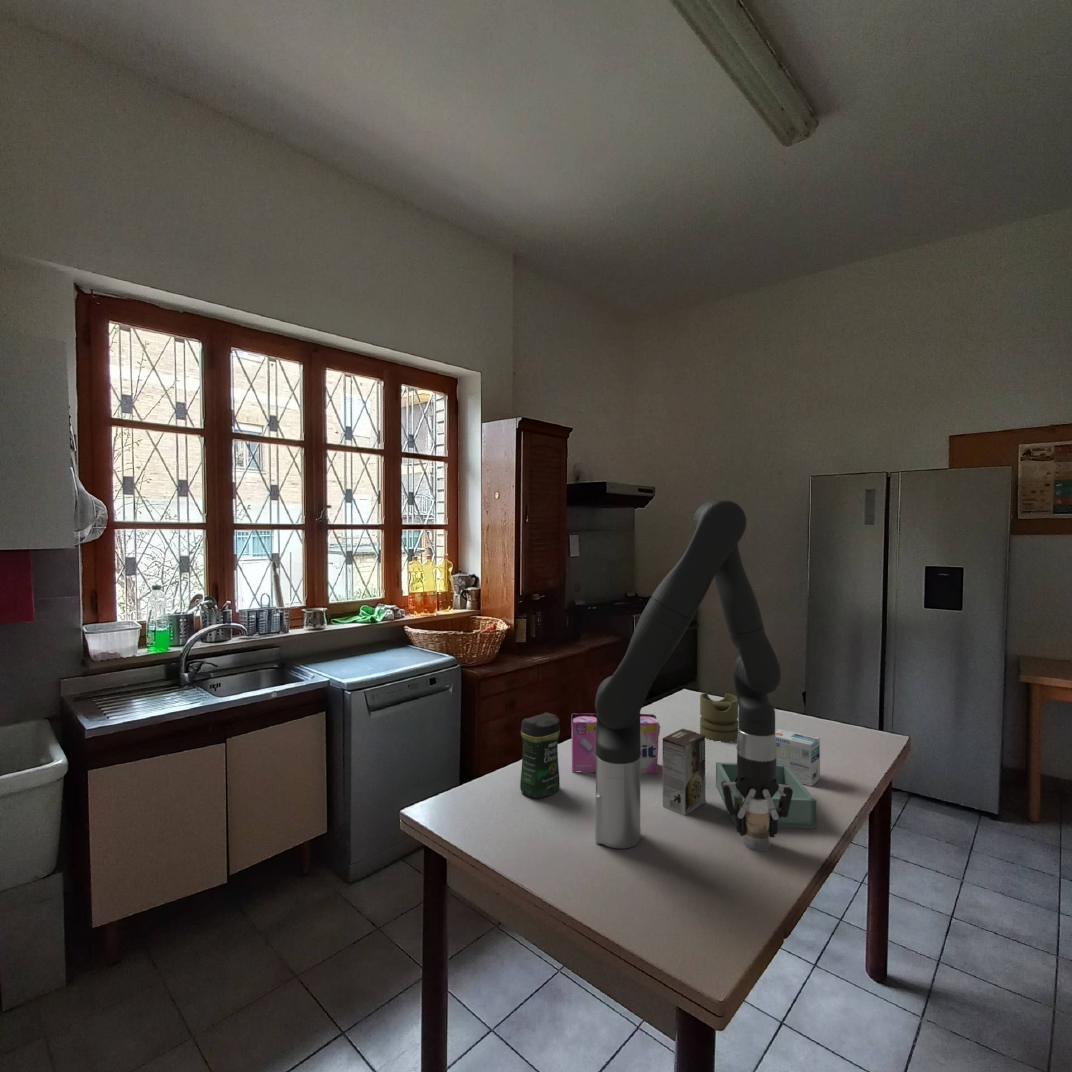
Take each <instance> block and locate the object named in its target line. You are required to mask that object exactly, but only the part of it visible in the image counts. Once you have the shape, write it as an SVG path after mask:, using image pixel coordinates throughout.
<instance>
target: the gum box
mask: <svg viewBox="0 0 1072 1072" xmlns="http://www.w3.org/2000/svg"><path fill="white" fill-rule="evenodd" d="M596 729H597V713H585V712H584V713H579V712H578V713H577V712H576V713H573V712H572V713H571V772H572V771H581V772H596ZM660 732H661V726H660V721H659V720H658V719H657V716H656V715H655V714H654V713H653V714H650V713H640V741H641V748H640V775H642V774H643V775H644V774H645V775H657V774H658V757H659V736H660Z"/></svg>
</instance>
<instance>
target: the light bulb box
mask: <svg viewBox="0 0 1072 1072" xmlns="http://www.w3.org/2000/svg"><path fill="white" fill-rule="evenodd" d="M775 737H776V765H787V766H788V767H789V768H790V770H791V771H792V772H793V773H794V775H795V776H796V777H797V778H798V779H799V781H800V782H801V783H802V784H803V785H805V784H806V785H805V786H809V787H812V786H814V784H816V783H817V782H818V781H819V780H820V779H821V743H820V741H821V738H820V737H816V736H811V735H807V734H803V733H799V732H794V731H789V730H784V729H782V728H779V729H777V730H775Z"/></svg>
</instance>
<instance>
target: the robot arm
mask: <svg viewBox="0 0 1072 1072" xmlns="http://www.w3.org/2000/svg"><path fill="white" fill-rule="evenodd" d="M694 513H695V514H694V516H693V528H694V533H693V534H692V537H691V539H690V542H689V543H688V546H687V548H686V549H685V552H684V553H683V555H682V557H681V558H680V559H679V561H677V563H676V565H674V566H673V568H672V569H671V570H670V571H668V573H667V575H666V576H665V577H664V578H663V580H662V581H660V583H659V584H658V586H656V589H655V590H654V591H653V592H652V595H651V597H650V598H649V600H648V602H647V604H646V606H645V608H644V609H643V611H642V612H641V614H640V617H639V619H638V621H637V623H636V626H635V628H634V631H633V633H632V636H631V639H630V640H629V641H630V642H629V644H628V647H627V650H626V652H625V653H624V654H625V655H624V657H622V659H621V661H620V663H619V665H618V667H617V668H616V670H615V671H614V672H613V674H612V675H611V676H608V677H606V678H605V679H604V680H602V682H601V683H600V684H599V686H598V687H597V691H596V694H595V701H594V707H595V711H596V713H595V714H597V729H596V773H595V843H596V844H602V845H603V846H606V847H608V848H612V849H613V848H614V849H629V848H632V847H635V846H636V845H638V844H640V840H641V830H642V829H641V828H642V827H641V774H640V748H641V741H640V714H641V710H642V708H643V706H644V704H645V700H646V699H647V696H648V694H649V692H650V689H651V687H652V685H653V683H654V681H655V679H656V678H657V676H658V674H659V673H660V672H661V669H662V668H663V666H664V665H665V663H666V662H667V661H668V660H669V658H670V656H671V655H672V653H673V652H674V650H675V649H676V647H677V645H678V644H679V643H680V641H681V640H682V638H683V637H684V635H685V632H686V631H687V630H688V627H689V625H690V624H691V622H692V621H693V619H694V617H695V615H696V613H697V611H698V609H699V607H700V605H701V604H702V602H703V600H704V598H705V596H706V594H707V592H708V590H709V588H710V586H711V584H712V582H713V581H715V585H716V589H717V593H718V596H719V601H720V605H721V610H722V613H723V618H724V622H725V625H726V630H727V632H728V636H729V638H730V639H729V640H730V641H731V643H732V644H733V645H734V646H735V648H736V649H737V650H738V652H739V656H738V657H737V658H736V660H735V662H734V665H733V672H732V674H733V684H734V689H735V690H734V691H735V696H736V697H737V700H738V737H737V740H736V763H737V777H736V779H735V782H730V783H727V782H726V781H722V782H721V786H722V790H723V795H724V800H725V804H724V805H726V806H725V808H726V810H727V812H728V814H729V816H730V815H735V825H734V827H735V829H736V832H737V833H738V834H739V836H740V837H743V836H744V834H745V819H744V815H745V812H746V809H748V808H749V800H748V799H753V798H765V800H769V810H770V838H775V835H776V836H777V835H778V832H779V831H778V829H779V828H778V818H780V817H787V816H788V812H789V807H790V803H791V798H792V794H793V790H792V789H791V787H790V786H789V785H788V784H783V785H782V784H778V783H777V780H776V737H775V731H776V711H775V708H774V705H773V704H772V702H771V701H770V699H769V695H768V694H771V693H774V691H776V690H777V689H778V687H779V685H780V684H781V679H782V671H781V666H780V663H779V661H778V657H777V656H776V653H775V651H774V648H773V646H772V644H771V643H770V640H769V639H768V636H767V634H766V631H765V626H764V621H763V616H762V614H761V609H760V606H759V603H758V600H757V596H756V595H755V592H754V590H753V587H752V585H751V583H750V581H749V579H748V576H747V573H746V571H745V568H744V565H743V562H742V558H741V554H740V549H739V544H738V543H739V542H740V541H741V539H742V538H743V536H744V535H745V532H746V528H747V516H746V513H745V511H744V509H743V508H742V506H740V505H739V504H738V503H737V502H735V501H732V500H728V499H727V500H726V499H713V500H708V501H706V502H704V503H703V504H701V505H700V506H699V507H698V508H697V510H696V512H694ZM735 788H737V789H738V791H739V792H740V796H739V798H738V803H737V805H736V807H735V806H733V801H732V797H731V794H733V793H734V789H735ZM778 790H779V793H780V795H781V796H780V801H779V805H778V808H776V809H775V806H774V803H773V801H772V799H771V798H772V797H773V796H774V794H775V793H776V792H777V791H778ZM743 797H744V801H743Z"/></svg>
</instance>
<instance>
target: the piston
mask: <svg viewBox="0 0 1072 1072" xmlns="http://www.w3.org/2000/svg"><path fill="white" fill-rule="evenodd" d="M699 700H700V701H699V703H700V704H699V707H700V708H699V710H700V711H699V712H700V713H699V714H700V717H699V728H700V729H699V734H702V735H705V738H706V739H705V740H708V739H709V740H708V741H711V740H713V741H712V742H716V741H721V742H720V743H731V742H730V741H733V742H736V741H737V737H738V729H739V728H738V724H739V705H738V700H737V696H736V695H734V694H731V693H727V692H726V693H725V695H724V696H723V698H722V699H720V700H713V699H711V698H710V697H709V695H708V692H703V693H700V695H699ZM735 740H736V741H735Z"/></svg>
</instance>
